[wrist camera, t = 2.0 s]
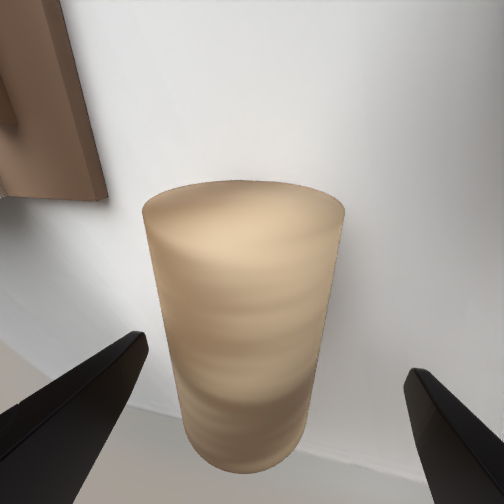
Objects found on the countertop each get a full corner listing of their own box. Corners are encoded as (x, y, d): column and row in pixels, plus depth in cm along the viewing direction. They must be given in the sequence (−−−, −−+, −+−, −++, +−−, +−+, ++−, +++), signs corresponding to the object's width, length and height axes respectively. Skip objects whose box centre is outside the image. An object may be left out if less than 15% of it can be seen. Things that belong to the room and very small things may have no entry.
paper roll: (360, 192, 9) (305, 269, 4) (322, 379, 14) (275, 511, 9) (221, 174, 12) (93, 211, 7) (228, 336, 16) (154, 423, 12)
